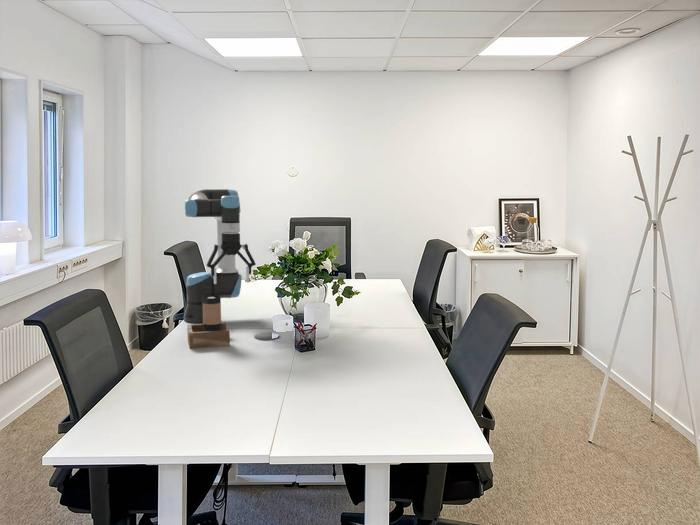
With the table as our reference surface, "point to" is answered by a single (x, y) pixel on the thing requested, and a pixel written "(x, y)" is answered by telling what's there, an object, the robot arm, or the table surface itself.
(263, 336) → the coaster
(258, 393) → the table surface
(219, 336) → the frame
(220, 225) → the robot arm
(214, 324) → the travel mug
